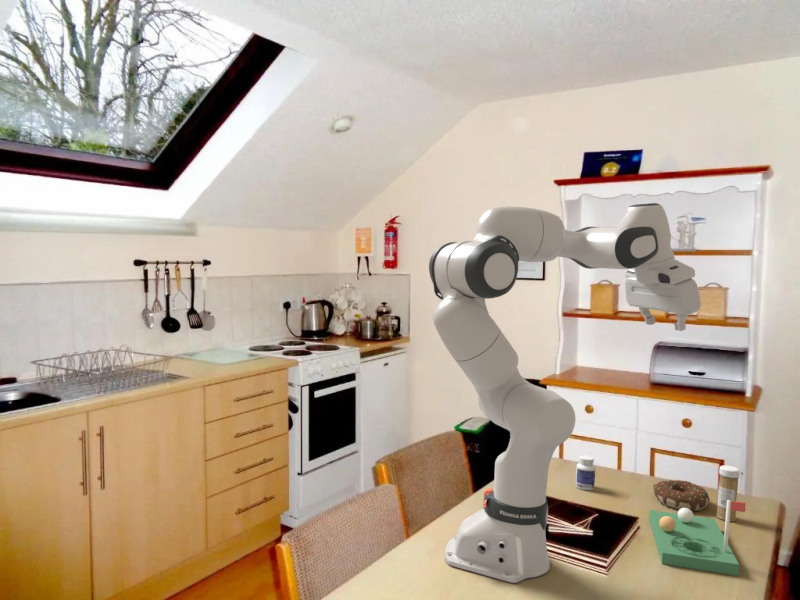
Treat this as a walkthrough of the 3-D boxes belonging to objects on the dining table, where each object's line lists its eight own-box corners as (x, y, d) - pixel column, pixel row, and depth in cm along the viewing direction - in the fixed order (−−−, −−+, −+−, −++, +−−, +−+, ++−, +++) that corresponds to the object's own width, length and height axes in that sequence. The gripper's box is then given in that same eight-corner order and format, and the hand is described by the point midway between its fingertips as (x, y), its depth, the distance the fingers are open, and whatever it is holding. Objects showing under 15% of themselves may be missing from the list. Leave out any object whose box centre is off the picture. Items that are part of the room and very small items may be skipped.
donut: (715, 504, 168) (716, 486, 167) (698, 518, 158) (700, 499, 157) (662, 489, 177) (663, 472, 177) (643, 502, 168) (644, 484, 167)
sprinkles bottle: (739, 519, 158) (743, 469, 157) (729, 523, 155) (733, 472, 154) (721, 513, 161) (725, 463, 160) (712, 516, 159) (716, 466, 158)
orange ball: (660, 533, 142) (661, 518, 142) (658, 526, 146) (659, 512, 145) (676, 535, 141) (677, 520, 141) (673, 529, 145) (674, 514, 144)
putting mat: (661, 563, 133) (666, 501, 132) (649, 519, 156) (652, 465, 155) (747, 577, 128) (752, 512, 127) (721, 529, 151) (725, 474, 150)
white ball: (678, 524, 148) (679, 510, 147) (676, 518, 151) (677, 504, 151) (694, 526, 147) (695, 512, 146) (691, 520, 150) (692, 506, 150)
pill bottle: (596, 491, 174) (598, 460, 173) (578, 490, 174) (580, 460, 173) (591, 484, 179) (592, 454, 178) (573, 483, 179) (575, 454, 178)
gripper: (614, 272, 150) (624, 324, 153) (678, 277, 131) (688, 338, 134) (634, 264, 152) (644, 317, 155) (700, 269, 133) (710, 329, 136)
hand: (665, 326), depth 144 cm, fingers open, 8 cm apart
